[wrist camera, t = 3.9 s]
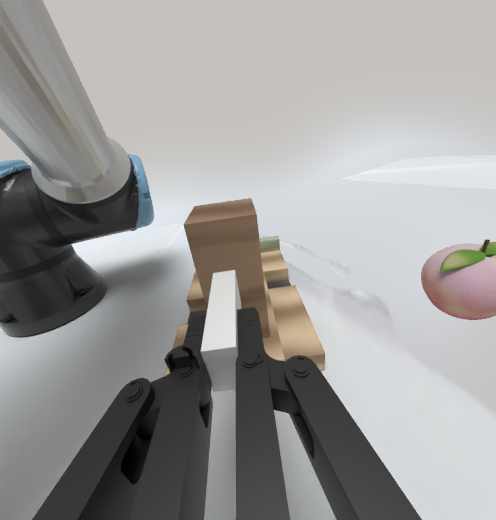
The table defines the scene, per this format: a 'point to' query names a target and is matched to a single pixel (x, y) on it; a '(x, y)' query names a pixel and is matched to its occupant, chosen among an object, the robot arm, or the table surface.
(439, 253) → the decorative fruit
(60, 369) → the table surface
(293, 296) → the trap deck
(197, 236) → the walnut block
